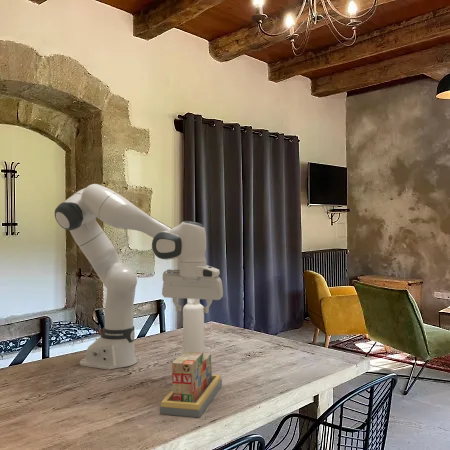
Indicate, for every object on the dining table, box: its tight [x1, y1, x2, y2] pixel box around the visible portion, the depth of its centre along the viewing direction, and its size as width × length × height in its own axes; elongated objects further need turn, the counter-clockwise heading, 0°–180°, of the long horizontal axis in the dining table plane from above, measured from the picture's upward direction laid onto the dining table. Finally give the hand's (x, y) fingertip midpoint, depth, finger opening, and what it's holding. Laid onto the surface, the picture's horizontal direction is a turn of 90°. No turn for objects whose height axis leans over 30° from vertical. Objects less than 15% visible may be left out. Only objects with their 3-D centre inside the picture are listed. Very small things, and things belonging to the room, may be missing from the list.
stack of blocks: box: [171, 351, 213, 403], centre depth 149 cm, size 21×6×12 cm, turn 166°
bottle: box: [182, 298, 205, 354], centre depth 179 cm, size 8×8×28 cm
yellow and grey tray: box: [159, 374, 223, 418], centre depth 148 cm, size 12×27×4 cm, turn 167°
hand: (192, 312), depth 155 cm, fingers open, 8 cm apart
